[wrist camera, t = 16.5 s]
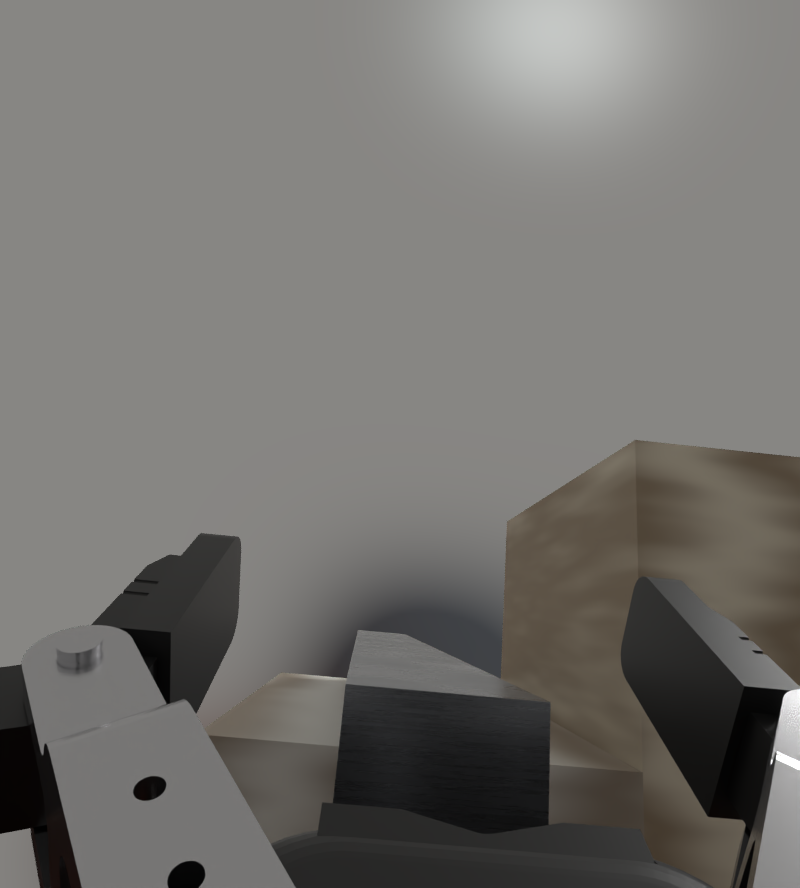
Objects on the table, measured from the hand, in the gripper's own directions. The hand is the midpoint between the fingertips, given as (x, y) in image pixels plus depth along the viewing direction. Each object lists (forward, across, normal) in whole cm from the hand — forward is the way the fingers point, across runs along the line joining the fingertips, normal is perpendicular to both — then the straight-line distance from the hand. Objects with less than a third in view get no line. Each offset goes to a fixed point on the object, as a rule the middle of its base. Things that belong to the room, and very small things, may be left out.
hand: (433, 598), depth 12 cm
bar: (+8, 0, +10) cm, 13 cm away
